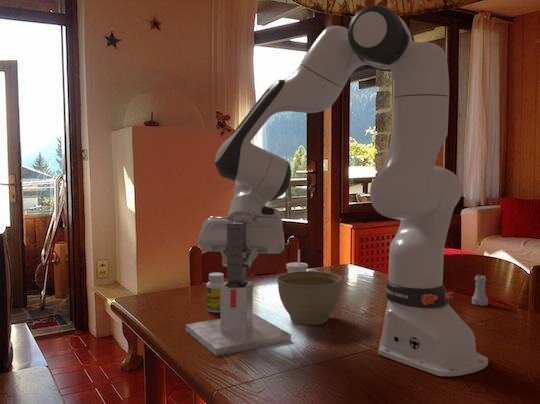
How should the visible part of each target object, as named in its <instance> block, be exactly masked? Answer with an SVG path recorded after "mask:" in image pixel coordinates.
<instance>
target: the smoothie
mask: <svg viewBox="0 0 540 404" xmlns="http://www.w3.org/2000/svg"><path fill="white" fill-rule="evenodd" d="M297 250H298V251H297V261H296V262H295V261H294V262H288V263H286V264H285V265H286V266H285V268H286V269H287V273H290V272H298V271H308V270H307V269H308V268H309V265H308V263H306V262H301V249H297Z"/></svg>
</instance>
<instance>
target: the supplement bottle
mask: <svg viewBox="0 0 540 404" xmlns="http://www.w3.org/2000/svg"><path fill="white" fill-rule="evenodd" d="M208 280H209V281H208V282H206V285H205V286H206V287H205V288H206V289H205V294H206V295H205V300H206V304H205V305H206V312H210V313H220V287H221V286H222V285H223V284H224V283H225V282H226V281H224V280H225V274H224V273H222V272H210V273H209V274H208Z"/></svg>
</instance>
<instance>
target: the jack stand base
mask: <svg viewBox="0 0 540 404" xmlns="http://www.w3.org/2000/svg"><path fill="white" fill-rule="evenodd" d="M224 282H225V283H224V284H223V285H222V286H221V287H220V312H219V313H220V314H219V315H220V318H218V319H217V318H216V319H211V320H205V321H198V322H192V323H186V324H185V331H186V332H187V333H188V334H189V335H190V336H192V337H193V338H194V339H195V340H196V341H198V342H199V343H200V344H201V345H202V346H204V347H205V348H206V349H207V350H208V351H210V352H211V353H212V354H213V355H214V356H215V357H218V356H219V357H220V356H222V355H228V354H234V353H239V352H245V351H249V350H254V349H259V348H262V347H263V348H264V347H268V346H275V345H278V344H284V343H291V342H292V334H291V333H289V332H287V331H286V330H284V329H282V328H280V327H279V326H277V325H275V324H273V323H271V322H270V321H267V320H266V319H264V318H263V317H260V316H259V315H258V314H255V313H253V307H254V305H253V303H254V302H253V295H254V294H253V293H254V291H253V288H254V287H253V286H254V285H253V281H247V280H246V286H245V287H239V283H228V286H227V280H226V281H224Z"/></svg>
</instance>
